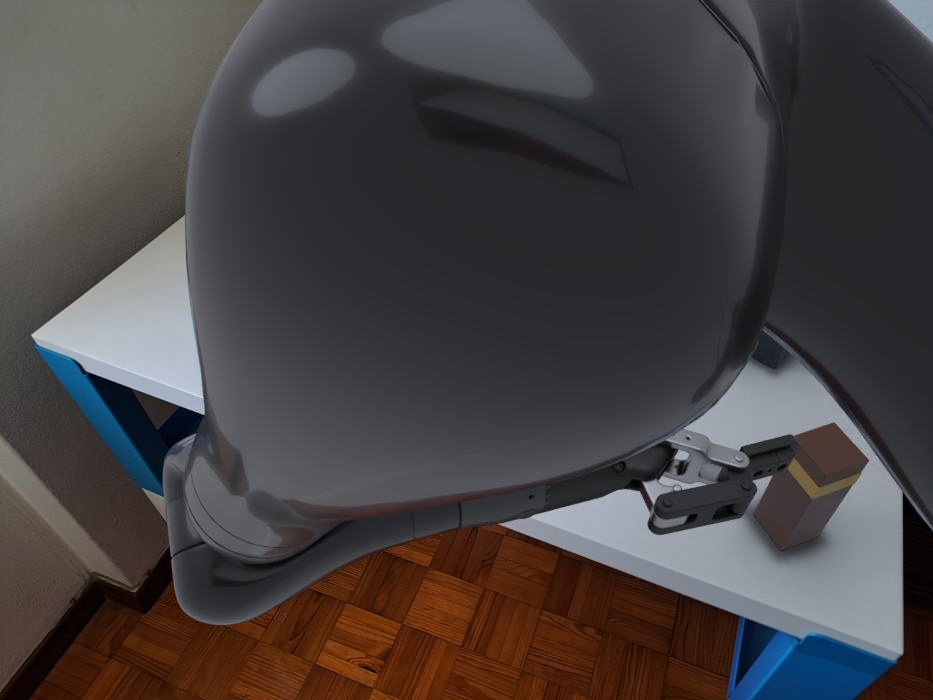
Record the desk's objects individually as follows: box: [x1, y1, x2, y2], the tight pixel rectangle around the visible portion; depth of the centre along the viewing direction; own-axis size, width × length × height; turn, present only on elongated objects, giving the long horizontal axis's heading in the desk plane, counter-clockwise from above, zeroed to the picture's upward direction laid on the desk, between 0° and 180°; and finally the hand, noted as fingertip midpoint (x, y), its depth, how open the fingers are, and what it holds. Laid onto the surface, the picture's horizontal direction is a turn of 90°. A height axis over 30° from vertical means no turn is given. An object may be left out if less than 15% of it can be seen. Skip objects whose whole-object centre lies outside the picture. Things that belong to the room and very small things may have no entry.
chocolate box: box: [752, 422, 870, 552], centre depth 58 cm, size 4×4×12 cm
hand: (752, 396), depth 44 cm, fingers open, 8 cm apart
